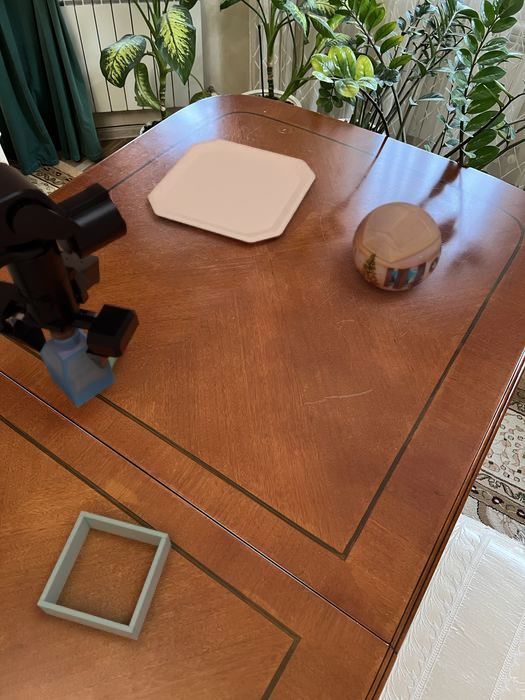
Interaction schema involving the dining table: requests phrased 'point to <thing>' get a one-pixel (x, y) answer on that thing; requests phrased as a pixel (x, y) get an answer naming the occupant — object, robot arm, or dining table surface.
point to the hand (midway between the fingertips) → (74, 359)
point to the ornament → (396, 246)
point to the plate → (233, 190)
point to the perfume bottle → (74, 366)
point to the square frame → (69, 558)
